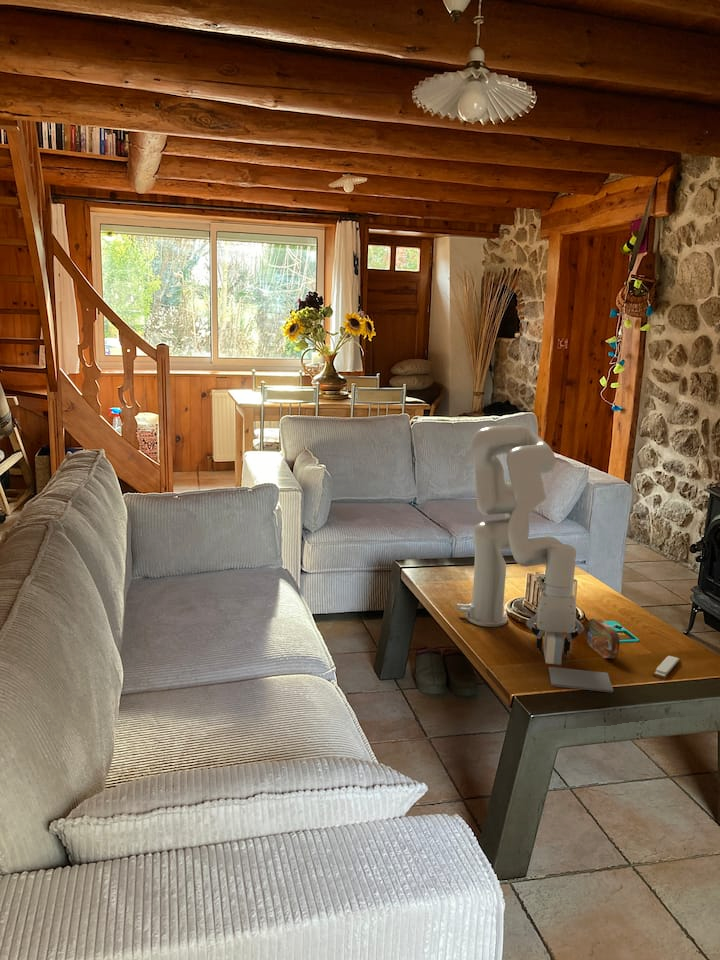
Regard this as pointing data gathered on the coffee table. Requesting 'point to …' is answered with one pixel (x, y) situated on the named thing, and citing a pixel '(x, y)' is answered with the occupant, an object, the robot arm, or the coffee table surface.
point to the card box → (553, 647)
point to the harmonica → (666, 667)
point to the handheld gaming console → (621, 629)
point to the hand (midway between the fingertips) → (552, 651)
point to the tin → (602, 638)
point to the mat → (580, 679)
